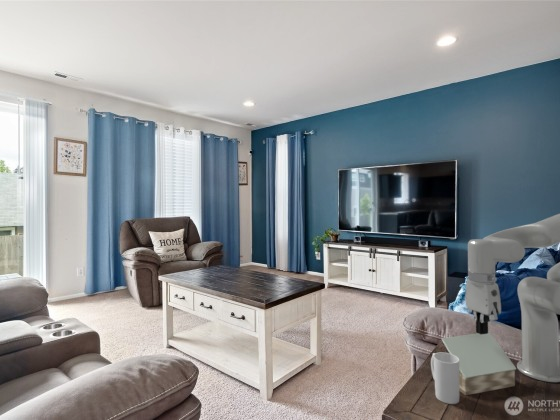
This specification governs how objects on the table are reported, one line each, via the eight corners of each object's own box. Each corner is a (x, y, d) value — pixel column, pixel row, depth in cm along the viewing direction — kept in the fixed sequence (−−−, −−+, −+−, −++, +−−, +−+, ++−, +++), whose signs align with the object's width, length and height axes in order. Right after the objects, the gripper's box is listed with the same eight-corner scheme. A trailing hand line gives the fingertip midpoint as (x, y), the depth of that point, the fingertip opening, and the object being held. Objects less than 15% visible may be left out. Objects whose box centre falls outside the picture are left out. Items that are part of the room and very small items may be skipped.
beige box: (481, 366, 112) (480, 352, 112) (514, 385, 100) (514, 370, 100) (436, 373, 108) (436, 359, 108) (465, 395, 96) (465, 379, 96)
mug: (465, 402, 93) (464, 361, 92) (445, 406, 91) (444, 364, 91) (441, 384, 102) (440, 346, 102) (422, 387, 101) (421, 349, 101)
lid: (488, 332, 109) (489, 331, 109) (515, 369, 100) (516, 368, 99) (441, 339, 105) (442, 338, 105) (464, 378, 96) (465, 377, 95)
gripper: (511, 281, 99) (512, 341, 99) (472, 272, 113) (473, 323, 114) (491, 283, 97) (492, 343, 98) (454, 273, 112) (455, 326, 112)
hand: (482, 333), depth 106 cm, fingers closed
